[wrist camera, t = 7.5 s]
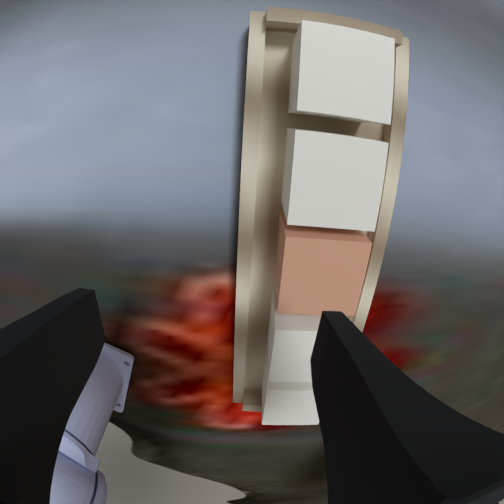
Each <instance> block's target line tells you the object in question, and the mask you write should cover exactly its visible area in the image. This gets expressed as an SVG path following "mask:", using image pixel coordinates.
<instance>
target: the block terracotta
mask: <svg viewBox="0 0 504 504" xmlns="http://www.w3.org/2000/svg"><path fill="white" fill-rule="evenodd" d="M371 247H372V242H371V241H370V240H369V238H368V237H367V236H366V235H365V234H364V232H363V231H362V230H350V229H338V228H325V227H312V226H298V225H287V222H286V218H285V214H284V211H283V210H280V218H279V229H278V240H277V250H276V261H275V271H274V279H275V292H276V305H277V313H280V314H305V315H321V314H322V311H342V312H343V313H344V314H345V315H346V316H355V312H356V309H357V305H358V301H359V298H360V294H361V290H362V286H363V282H364V278H365V273H366V269H367V265H368V261H369V256H370V252H371Z"/></svg>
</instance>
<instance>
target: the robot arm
mask: <svg viewBox="0 0 504 504" xmlns="http://www.w3.org/2000/svg"><path fill="white" fill-rule="evenodd" d="M105 340H106V338H105V334H104V330H103V326H102V322H101V318H100V313H99V309H98V304H97V300H96V295H95V290H90V289H83V288H78V289H76V290H74V291H71V292H69V293H67V294H65V295H63V296H61V297H59V298H58V299H56V300H54V301H52V302H50V303H48V304H47V305H45V306H43V307H41V308H39V309H38V310H36V311H34V312H32V313H30V314H29V315H27V316H25V317H23V318H21V319H19V320H17V321H15V322H13V323H11V324H10V325H8V326H6V327H4V328H2V329H0V504H106V499H107V484H106V482H105V478H104V475H103V474H102V473H101V472H100V471H98V470H97V469H98V467H99V464H100V460H99V459H98V458H96V457H95V454H96V452H97V449H98V447H99V444H100V441H101V439H102V436H103V434H104V431H105V429H106V426H107V424H108V421H109V419H110V416H111V414H112V412H113V410H115V411H117V412H120V413H121V412H123V410H124V405H125V400H126V395H127V391H128V386H129V381H130V377H131V372H132V368H133V363H134V357H133V355H131V354H130V353H127V352H125V351H123V350H121V349H118V348H116V347H114V346H112V345H109V344H107V343H105ZM310 363H311V377H312V388H313V393H314V398H315V403H316V408H317V413H318V417H319V422H320V427H321V432H322V437H323V442H324V448H325V455H326V466H327V482H328V504H498V502H499V501H501V500H502V499H504V434H503V433H500V432H497V431H495V430H492V429H490V428H488V427H486V426H484V425H482V424H479V423H477V422H475V421H473V420H471V419H470V418H468V417H466V416H464V415H462V414H460V413H459V412H457V411H455V410H454V409H452V408H451V407H449V406H447V405H446V404H444V403H443V402H441V401H440V400H438V399H437V398H435V397H434V396H432V395H431V394H430V393H428V392H427V391H426V390H424V389H423V388H422V387H420V386H419V385H418V384H416V383H415V382H414V381H413V380H411V379H410V378H409V377H408V376H407V375H405V374H404V373H403V372H402V371H401V370H400V369H399V368H398V367H396V366H395V365H394V364H393V363H392V362H391V361H390V360H389V359H388V358H387V357H386V356H385V355H384V354H383V353H382V352H381V351H380V350H379V349H378V348H377V347H376V346H375V345H374V344H373V343H372V342H371V341H370V340H369V339H368V338H367V337H366V336H365V335H364V334H363V333H362V332H361V331H360V330H359V329H358V328H357V327H356V326H355V325H354V324H353V322H352V321H351V320H350V319H349V318H348V317H347V316H346V315H345V314H344V313H343V312H342V311H322V314H321V319H320V323H319V327H318V331H317V335H316V339H315V343H314V347H313V351H312V355H311V359H310Z"/></svg>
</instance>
